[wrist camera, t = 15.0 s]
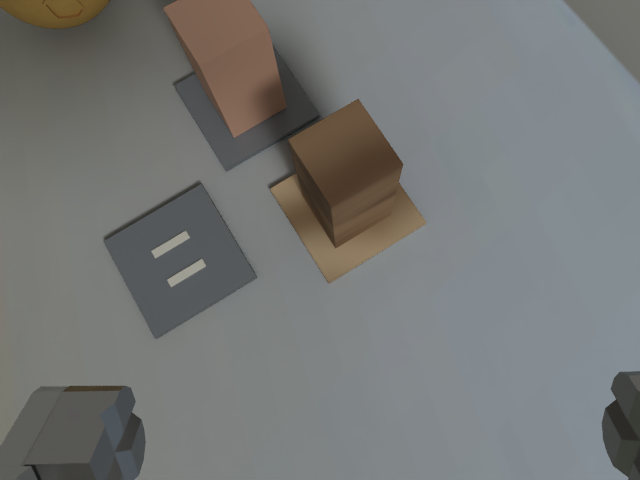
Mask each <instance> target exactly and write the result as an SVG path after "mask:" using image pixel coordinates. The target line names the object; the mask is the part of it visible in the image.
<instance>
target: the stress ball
mask: <svg viewBox="0 0 640 480" xmlns="http://www.w3.org/2000/svg"><path fill="white" fill-rule="evenodd" d="M109 1H110V0H0V7H1V8H3V9H4V10H5V11H6V12H8V13H9V14H11V15H12V16H14V17H16V18H18V19H20V20H22V21H24V22H26V23H29V24H32V25H35V26H39V27H43V28H52V29H62V28H70V27H74V26H78V25H81V24H83V23H85V22H88V21H89V20H91V19H92V18H94V17H95V16H97V15H98V14H99V13H100V12H101V11H102V10H103V9H104V8H105V6H106V5H107V4H108V2H109Z"/></svg>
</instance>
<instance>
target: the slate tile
mask: <svg viewBox="0 0 640 480" xmlns="http://www.w3.org/2000/svg"><path fill="white" fill-rule="evenodd" d="M272 46H273V45H272ZM273 50H274V55H275V59H276V63H277V68H278V72H279V76H280V80H281V85H282V89H283V93H284V98H285V102H286V106H287V107H286V108H285V109H283V110H281V111H280V112H278V113H276V114H274V115H273V116H271V117H269V118H268V119H266V120H264V121H263V122H261V123H259V124H257V125H256V126H254V127H252V128H251V129H249V130H247V131H245V132H244V133H242V134H240V135H239V136H237V137H235V138H234V137H233V136H232V134H231V132H230V131H229V129H228V128H227V126H226V124H225V123H224V121H223V120H222V118H221V116H220V115H219V113H218V112H217V110H216V108H215V107H214V105H213V104H212V102H211V100H210V99H209V97H208V96H207V94H206V92H205V91H204V89H203V87H202V85H201V83H200V81H199V79H198V77H197V75H196V73H195V74H193V75H191V76H190V77H188V78H186V79H184V80H183V81H181V82H179V83H177V84H176V85H174V87H175V88H176V90H177V91H178V93H179V95H180V96H181V98H182V100H183V101H184V103H185V105H186V106H187V108H188V110H189V111H190V113H191V114H192V116H193V118H194V119H195V121H196V123H197V124H198V126H199V128H200V129H201V131H202V132H203V134H204V136H205V137H206V139H207V141H208V142H209V144H210V146H211V147H212V149H213V151H214V152H215V154H216V155H217V157H218V159H219V160H220V162H221V164H222V165H223V167H224V169H225V170H226V172H227V171H228V170H230V169H232V168H234V167H235V166H237V165H239V164H240V163H242V162H244V161H245V160H247V159H249V158H251V157H252V156H254V155H256V154H257V153H259V152H261V151H262V150H264V149H266V148H268V147H269V146H271V145H273V144H274V143H276V142H278V141H279V140H281V139H283V138H285V137H286V136H288V135H290V134H291V133H293V132H295V131H296V130H298V129H300V128H302V127H303V126H305V125H307V124H308V123H310V122H312V121H313V120H315V119H317V118H319V117H320V115H319V113H318V112H317V110H316V109H315V107H314V106H313V104H312V103H311V101H310V100H309V98H308V97H307V95H306V94H305V92H304V91H303V89H302V88H301V86H300V85H299V83H298V82H297V81H296V79H295V78H294V76H293V75H292V73H291V72H290V70H289V69H288V67H287V66H286V64H285V63H284V61H283V60H282V58H281V57H280V55H279V54H278V52H277V51H276V49H275V48H274V46H273Z"/></svg>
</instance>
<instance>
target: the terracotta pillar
mask: <svg viewBox="0 0 640 480" xmlns="http://www.w3.org/2000/svg"><path fill="white" fill-rule="evenodd" d="M163 9H164V11H165V13H166V15H167V17H168V19H169V21H170V23H171V25H172V27H173V29H174V31H175V33H176V35H177V37H178V39H179V41H180V43H181V45H182V47H183V49H184V51H185V53H186V55H187V57H188V59H189V61H190V63H191V65H192V67H193V69H194V71H195V73H196V75H197V77H198V79H199V81H200V83H201V85H202V87H203V89H204V91H205V92H206V94H207V96H208V97H209V99H210V100H211V102H212V104H213V105H214V107H215V108H216V110H217V112H218V113H219V115H220V116H221V118H222V120H223V121H224V123H225V124H226V126H227V128H228V129H229V131H230V132H231V134H232V136H233V137H234V138H235V137H237V136H239V135H240V134H242V133H244V132H245V131H247V130H249V129H251V128H252V127H254V126H256V125H257V124H259V123H261V122H263V121H264V120H266V119H268V118H269V117H271V116H273V115H274V114H276V113H278V112H280V111H281V110H283V109H285V108H286V107H287V106H286V102H285V98H284V93H283V89H282V85H281V80H280V76H279V72H278V68H277V63H276V59H275V55H274V50H273V46H272V42H271V37H270V33H269V29H268V26H267V25H266V23H265V22H264V21H263V19H262V18H261V16H260V15H259V13H258V12H257V10H256V9H255V7H254V6H253V4H252V3H251V1H250V0H176V1H175V2H173V3H171V4H169V5H167V6H166V7H164V8H163Z"/></svg>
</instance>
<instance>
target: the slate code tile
mask: <svg viewBox="0 0 640 480" xmlns="http://www.w3.org/2000/svg"><path fill="white" fill-rule="evenodd" d="M104 243H105V245H106V247H107V249H108V251H109V253H110V255H111V256H112V258H113V260H114V262H115V264H116V266H117V268H118V270H119V271H120V273H121V275H122V277H123V279H124V281H125V283H126V285H127V287H128V288H129V290H130V292H131V294H132V296H133V298H134V300H135V302H136V303H137V305H138V307H139V309H140V311H141V313H142V315H143V317H144V318H145V320H146V322H147V324H148V326H149V328H150V330H151V332H152V334H153V335H154V337H155V338H156V339H157V338H159V337H161V336H162V335H164V334H166V333H167V332H169V331H171V330H172V329H174V328H175V327H177V326H179V325H180V324H182V323H184V322H185V321H187V320H189V319H190V318H192V317H194V316H195V315H197V314H198V313H200V312H202V311H203V310H205V309H207V308H208V307H210V306H212V305H213V304H215V303H217V302H218V301H220V300H221V299H223V298H225V297H226V296H228V295H230V294H231V293H233V292H235V291H236V290H238V289H240V288H241V287H243V286H244V285H246V284H248V283H249V282H251V281H253V280H254V279H256V278H257V276H256V275H255V273H254V271H253V270H252V268H251V266H250V264H249V263H248V261H247V259H246V258H245V256H244V254H243V253H242V251H241V249H240V248H239V246H238V244H237V243H236V241H235V239H234V238H233V236H232V234H231V233H230V231H229V229H228V227H227V226H226V224H225V222H224V221H223V219H222V217H221V216H220V214H219V212H218V211H217V209H216V207H215V206H214V204H213V202H212V201H211V199H210V197H209V195H208V194H207V192H206V190H205V189H204V187H203V185H202V184H200V185H198V186H197V187H195V188H193V189H192V190H190V191H188V192H187V193H185V194H183V195H181V196H180V197H178V198H176V199H175V200H173V201H171V202H170V203H168V204H166V205H164V206H163V207H161V208H159V209H158V210H156V211H154V212H153V213H151V214H149V215H147V216H146V217H144V218H142V219H141V220H139V221H137V222H136V223H134V224H132V225H130V226H129V227H127V228H125V229H124V230H122V231H120V232H119V233H117V234H115V235H113V236H112V237H110V238H108V239H107V240H105V241H104Z"/></svg>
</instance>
